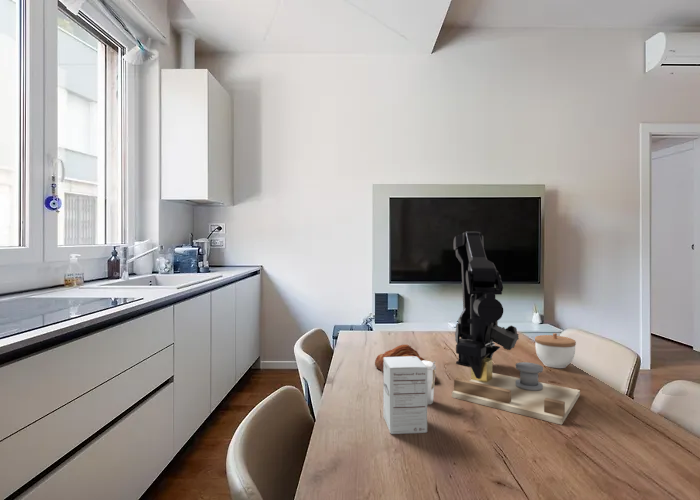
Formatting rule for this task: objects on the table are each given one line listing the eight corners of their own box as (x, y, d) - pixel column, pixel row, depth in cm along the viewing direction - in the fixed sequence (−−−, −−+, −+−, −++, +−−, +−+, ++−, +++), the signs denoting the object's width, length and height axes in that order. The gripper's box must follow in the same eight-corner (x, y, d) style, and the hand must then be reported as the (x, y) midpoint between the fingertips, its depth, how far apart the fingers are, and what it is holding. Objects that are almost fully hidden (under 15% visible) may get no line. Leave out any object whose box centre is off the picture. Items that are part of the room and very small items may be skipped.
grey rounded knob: (512, 387, 96) (512, 366, 96) (519, 380, 101) (519, 360, 101) (539, 393, 92) (539, 371, 92) (545, 385, 97) (545, 365, 97)
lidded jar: (581, 372, 112) (581, 338, 111) (540, 369, 114) (540, 336, 114) (568, 361, 122) (568, 330, 122) (530, 359, 124) (531, 329, 124)
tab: (471, 379, 102) (471, 359, 102) (477, 375, 105) (477, 356, 105) (486, 382, 99) (486, 362, 99) (492, 378, 102) (492, 358, 102)
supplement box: (382, 418, 82) (382, 356, 82) (418, 416, 82) (418, 355, 82) (389, 435, 74) (389, 367, 74) (428, 433, 75) (428, 366, 75)
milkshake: (426, 408, 86) (426, 362, 86) (411, 400, 91) (411, 356, 91) (442, 404, 88) (442, 359, 88) (427, 396, 93) (427, 353, 93)
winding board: (451, 397, 93) (451, 381, 93) (483, 375, 108) (483, 361, 108) (561, 424, 78) (561, 406, 78) (579, 395, 94) (579, 379, 94)
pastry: (433, 367, 116) (433, 340, 116) (437, 385, 101) (437, 354, 101) (375, 365, 119) (375, 338, 119) (370, 382, 104) (370, 351, 104)
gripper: (502, 324, 90) (501, 394, 90) (525, 313, 104) (525, 373, 104) (455, 319, 97) (454, 383, 97) (483, 309, 111) (483, 365, 111)
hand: (481, 376), depth 102 cm, fingers closed on tab, 4 cm apart
